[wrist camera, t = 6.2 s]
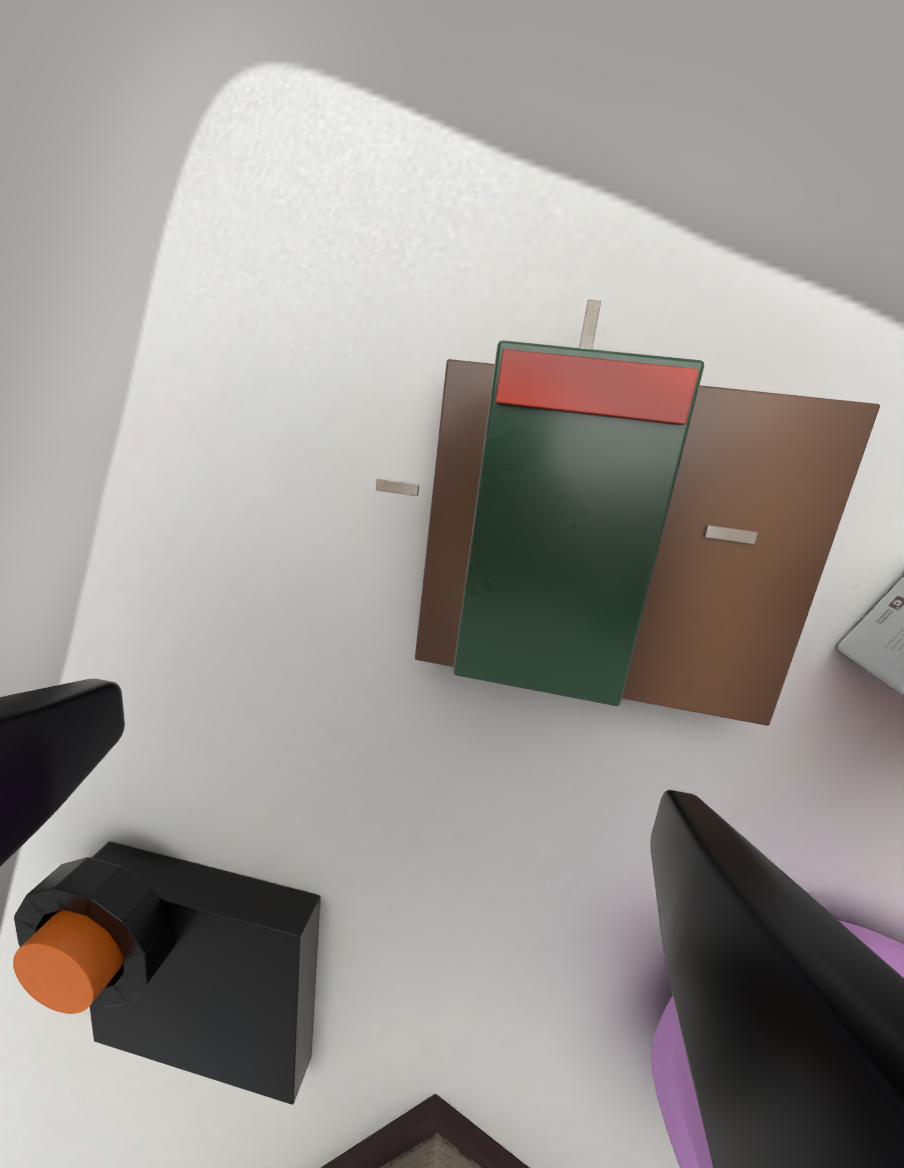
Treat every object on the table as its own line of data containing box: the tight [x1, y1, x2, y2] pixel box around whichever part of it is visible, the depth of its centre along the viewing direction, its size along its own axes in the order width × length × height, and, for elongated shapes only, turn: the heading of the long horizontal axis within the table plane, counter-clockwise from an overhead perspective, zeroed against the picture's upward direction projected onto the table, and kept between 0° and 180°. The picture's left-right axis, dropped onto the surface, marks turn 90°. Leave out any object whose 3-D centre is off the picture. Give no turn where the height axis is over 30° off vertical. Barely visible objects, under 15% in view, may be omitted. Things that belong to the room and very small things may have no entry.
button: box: [13, 910, 123, 1014], centre depth 22 cm, size 4×4×2 cm
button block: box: [14, 842, 320, 1105], centre depth 25 cm, size 14×13×4 cm
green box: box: [453, 341, 704, 706], centre depth 13 cm, size 8×4×5 cm, turn 173°
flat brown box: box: [376, 300, 880, 726], centre depth 16 cm, size 14×12×3 cm
